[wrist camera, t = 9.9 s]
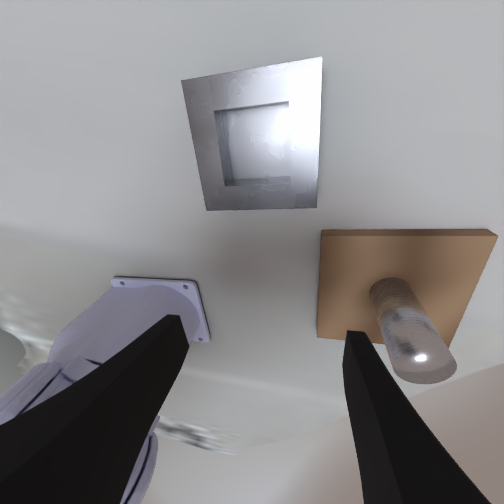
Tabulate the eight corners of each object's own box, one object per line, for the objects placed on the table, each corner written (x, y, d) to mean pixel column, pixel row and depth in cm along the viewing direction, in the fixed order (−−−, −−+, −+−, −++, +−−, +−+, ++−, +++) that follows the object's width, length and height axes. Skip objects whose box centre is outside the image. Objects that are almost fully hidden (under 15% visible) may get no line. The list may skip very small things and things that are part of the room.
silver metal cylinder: (370, 309, 18) (394, 383, 13) (367, 280, 17) (391, 349, 12) (412, 306, 17) (454, 384, 12) (411, 275, 16) (459, 347, 11)
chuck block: (219, 199, 17) (206, 210, 15) (200, 86, 14) (181, 80, 12) (315, 196, 16) (316, 207, 14) (320, 67, 12) (322, 56, 10)
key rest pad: (316, 328, 22) (316, 337, 21) (321, 229, 17) (322, 235, 16) (441, 340, 19) (447, 350, 18) (487, 229, 15) (498, 236, 14)
